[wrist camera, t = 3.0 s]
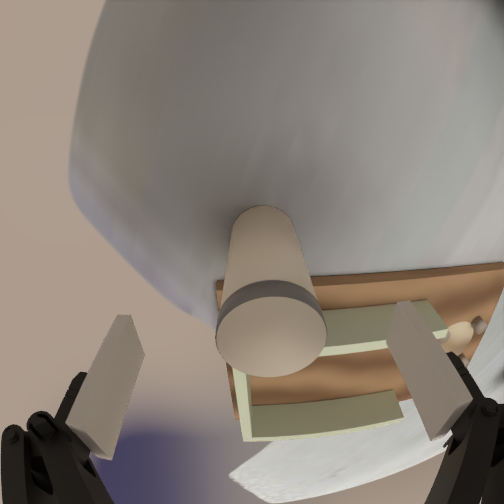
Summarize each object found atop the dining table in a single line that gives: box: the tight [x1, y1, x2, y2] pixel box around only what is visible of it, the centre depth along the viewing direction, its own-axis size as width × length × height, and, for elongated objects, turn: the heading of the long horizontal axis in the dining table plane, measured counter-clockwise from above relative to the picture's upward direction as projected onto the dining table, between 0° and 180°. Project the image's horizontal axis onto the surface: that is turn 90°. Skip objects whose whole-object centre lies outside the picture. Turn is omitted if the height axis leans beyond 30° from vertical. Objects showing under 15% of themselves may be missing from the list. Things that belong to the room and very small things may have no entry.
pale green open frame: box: [232, 300, 449, 442], centre depth 27 cm, size 15×19×4 cm
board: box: [216, 262, 504, 420], centre depth 29 cm, size 20×32×3 cm, turn 93°
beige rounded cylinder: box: [215, 206, 327, 377], centre depth 18 cm, size 5×5×12 cm
